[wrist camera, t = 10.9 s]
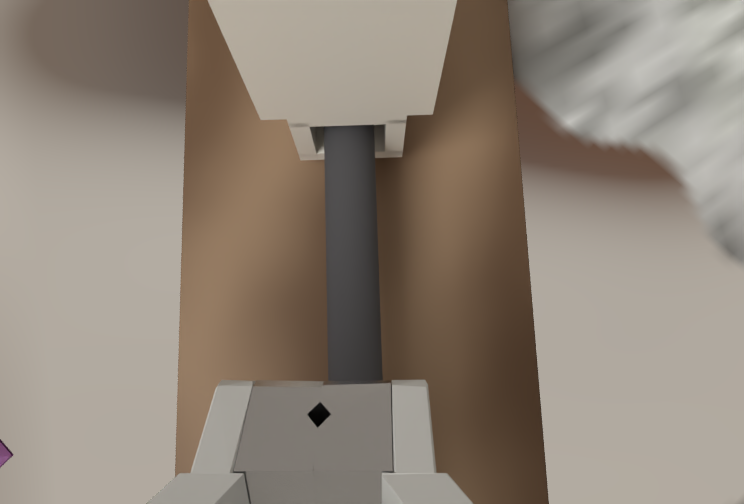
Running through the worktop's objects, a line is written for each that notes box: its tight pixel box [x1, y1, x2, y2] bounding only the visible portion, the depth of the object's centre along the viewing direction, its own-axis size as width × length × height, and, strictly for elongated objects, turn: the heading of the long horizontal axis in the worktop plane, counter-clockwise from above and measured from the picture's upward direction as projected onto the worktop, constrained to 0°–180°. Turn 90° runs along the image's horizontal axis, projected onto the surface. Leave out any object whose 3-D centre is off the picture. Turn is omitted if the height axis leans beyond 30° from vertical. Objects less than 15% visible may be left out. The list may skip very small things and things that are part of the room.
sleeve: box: [208, 0, 457, 160], centre depth 17 cm, size 5×4×10 cm
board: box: [175, 0, 549, 504], centre depth 22 cm, size 12×30×1 cm, turn 2°
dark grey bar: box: [324, 125, 383, 381], centre depth 20 cm, size 5×29×4 cm, turn 2°
